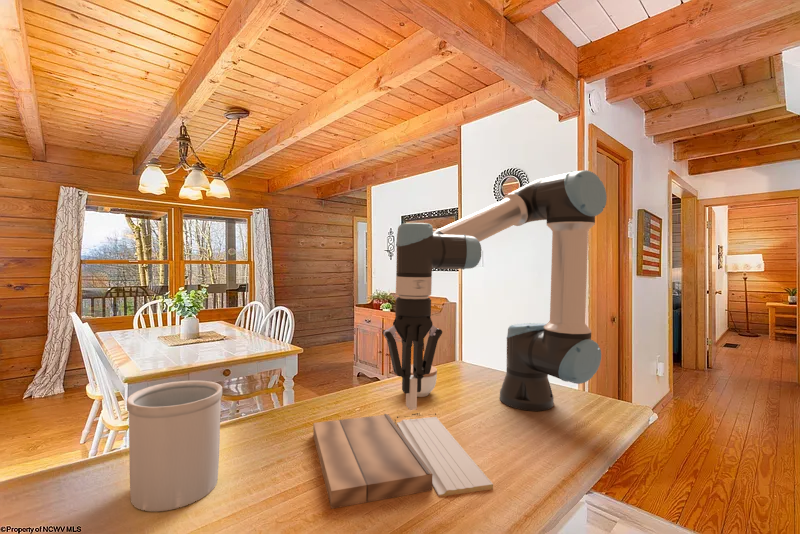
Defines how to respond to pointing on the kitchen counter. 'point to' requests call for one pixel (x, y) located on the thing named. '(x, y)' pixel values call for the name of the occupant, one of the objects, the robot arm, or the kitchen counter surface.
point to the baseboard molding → (444, 457)
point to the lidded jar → (427, 382)
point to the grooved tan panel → (368, 461)
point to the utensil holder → (173, 443)
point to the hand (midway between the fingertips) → (411, 407)
